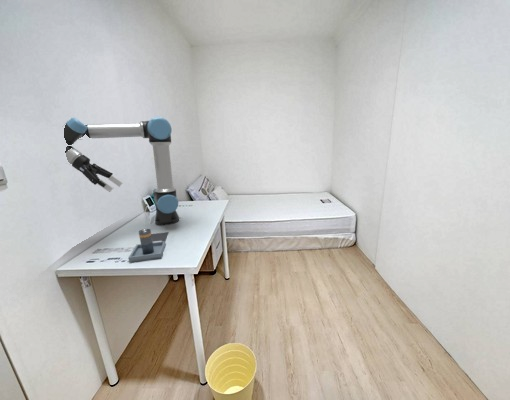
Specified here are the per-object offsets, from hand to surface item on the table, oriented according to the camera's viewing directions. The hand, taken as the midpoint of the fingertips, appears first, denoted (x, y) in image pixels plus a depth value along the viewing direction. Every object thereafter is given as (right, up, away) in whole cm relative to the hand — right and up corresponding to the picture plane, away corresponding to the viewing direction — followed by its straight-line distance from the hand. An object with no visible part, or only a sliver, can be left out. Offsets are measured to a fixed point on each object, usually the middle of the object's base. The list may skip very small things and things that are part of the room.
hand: (116, 187), depth 121 cm
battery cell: (+21, -32, -9) cm, 39 cm away
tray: (+21, -32, -9) cm, 40 cm away
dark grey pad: (+17, -28, +7) cm, 34 cm away
